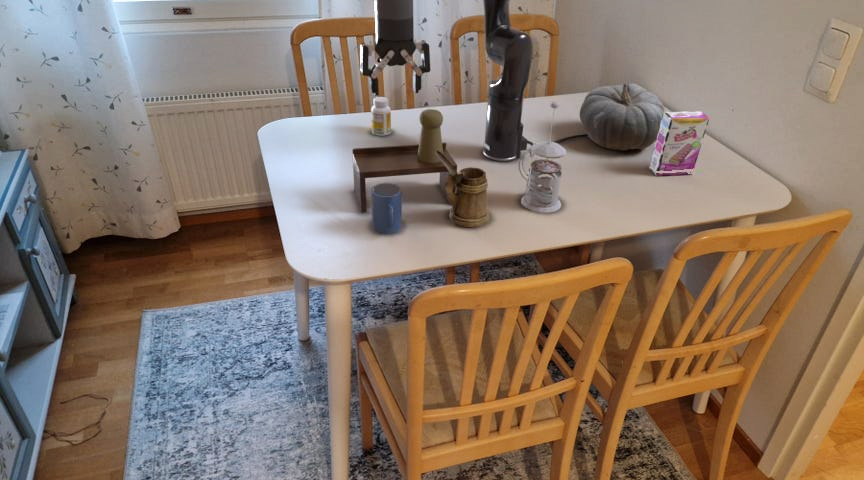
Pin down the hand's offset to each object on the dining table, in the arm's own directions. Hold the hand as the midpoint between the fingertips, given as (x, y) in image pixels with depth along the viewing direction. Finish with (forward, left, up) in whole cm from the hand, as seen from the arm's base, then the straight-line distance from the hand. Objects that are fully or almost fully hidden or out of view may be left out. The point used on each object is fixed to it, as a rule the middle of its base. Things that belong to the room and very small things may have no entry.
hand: (396, 93), depth 134 cm
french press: (-33, +7, -26) cm, 42 cm away
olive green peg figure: (-8, -1, -16) cm, 18 cm away
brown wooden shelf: (-2, -1, -26) cm, 26 cm away
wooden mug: (-12, +12, -26) cm, 31 cm away
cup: (+5, +11, -26) cm, 28 cm away
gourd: (-71, -23, -26) cm, 79 cm away
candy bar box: (-76, -2, -26) cm, 80 cm away
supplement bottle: (-4, -40, -26) cm, 48 cm away
